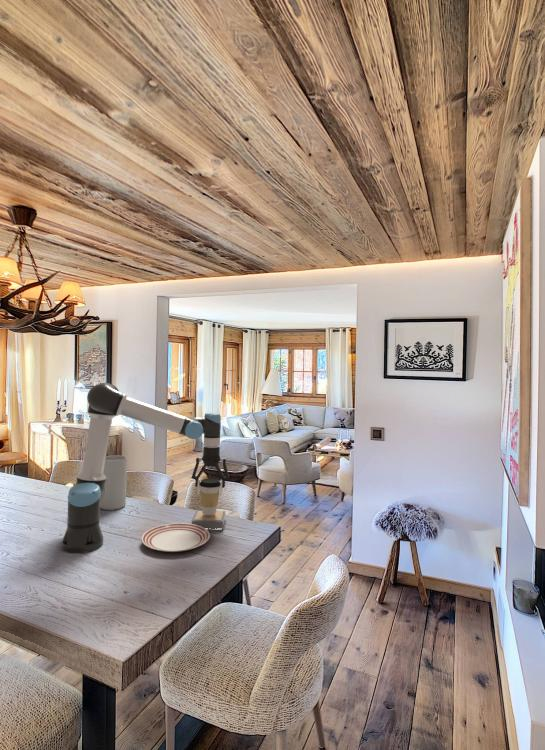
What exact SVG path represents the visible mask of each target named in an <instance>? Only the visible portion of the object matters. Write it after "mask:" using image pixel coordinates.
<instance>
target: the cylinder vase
mask: <svg viewBox="0 0 545 750" xmlns="http://www.w3.org/2000/svg"><path fill="white" fill-rule="evenodd" d="M127 468H128V457H127V456H125V455H106V459H105V465H104V471H103V474H104V475H105V476H106V482H105V494H104V497H103V499H102V501H101V504H100V510H105V511H115V509H116V510H120V509H122V507H123V508H124V507H125V506H126V502H127V501H126V497H127V476H128V475H127V473H128V472H127V471H128V470H127Z"/></svg>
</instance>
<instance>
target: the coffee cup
mask: <svg viewBox="0 0 545 750" xmlns="http://www.w3.org/2000/svg"><path fill="white" fill-rule="evenodd" d="M220 486H221V480H220V479H217V478H211V477H210V478H203V479H200V502H201V504H200V505H201V509H202V510H201V511H202V513H203V514H204V515H214V514H216V511H217V507H218V503H219V496H220Z"/></svg>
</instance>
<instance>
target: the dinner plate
mask: <svg viewBox="0 0 545 750" xmlns="http://www.w3.org/2000/svg"><path fill="white" fill-rule="evenodd" d="M210 538H211V533H210V532H209V530H206V529H205V528H203V527H201V526H199V525H195V524H192V523H185V522H175V523H165V524H162V525H158V526H155V527H152V528H150V529H149V530H146V531H145V532H144V533H143V534H142V535H141V542H142V544H143V545H144V546H145V547H148V548H149V549H152V550H156V551H159V552H166V553H167V552H169V553H177V552H185V551H189V550H192V549H196V548H199V547H200V546H203V545H204V544H206V543H207V542H208V541H209V539H210Z"/></svg>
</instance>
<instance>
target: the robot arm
mask: <svg viewBox="0 0 545 750" xmlns="http://www.w3.org/2000/svg"><path fill="white" fill-rule="evenodd" d="M86 396H87V397H86V399H87V403H88V406H87V407H88V408H87V414H88V415H89V417H90V419H89V426H88V430H87V431H88V432H87V438H86V443H85V450H84V455H83V461H82V468H81V472H80V473H78V474H77V477H76V482H75V484H74V485H73V486H71V487H70V489H69V490H68V495H67V521H66V522H67V523H66V524H67V525H66V529H65V532H64V535H63V538H62V540H61V550H62V551H63V552H65V553H68V554H82V553H87V552H88V553H89V552H92V551H94V550H97V549H99V548H100V547H102V546H103V544H104V535H103V531H102V529H101V526H100V512H101V508H100V504H101V501H102V499H103V497H104V494H105V482H106V476H105V475H104V474H103V471H104V465H105V459H106V456H107V452H108V447H109V441H110V440H109V439H110V433H111V427H112V420H113V418H115V417H118V416H123V417H126V418H130V419H132V420H134V421H135V420H136V421H139V422H142V423H145V424H148V425H151V426H154V427H157V428H160V429H163V430H167V431H169V432H172V433H176V434H178V435H181V436H185V437H187V438H188V439H190V440H198V439H199V438H201V437H202V436H203V448H202V449H203V450H202V451H203V452H202V453H203V454H202V457H200V456H197V457H196V459H195V460H196V461H195V465H194V468H193V472H192V474H191V479H192V480H195V481H194V483H195V485H194V486H195V487H196V490H197V491H196V493H197V494H196V495H197V496H198V495H201V492H200V491H201V486H200V483H201V479H200V477H201V476H202V474H203V472H204V471H205V469H206V468H209V467H212V468H213V467H214V468H215V469H216V471H217V473H218V475H219V477H220V483H221V486H220V488H219V496H223V489H224V488H225V487H226V481H228V480H230V474H229V470H228V468H227V467H228V466H227V463H226V462H227V458H226V457H220V454H221V453H220V452H221V451H220V449H221V447H220V446H221V427H222V426H221V425H222V422H221V417H222V416H221V414H220V413H218V412H206V413H205V414H204V416H202V417H194V416H193V417H192V416H184V415H180V414H177V413H174V412H172V411H168V410H165V409H163V408H160V407H157V406H154V405H151V404H149V403H146V402H142V401H139V400H136V399H134V398H131V397H128V396H127V394H126V393H123V392H121V391H119V388H117V386H115V384H113V383H109V382H99V384H95V385H94V386H92V387H91V388H90V389H89V391H88V393H87V395H86ZM202 461H203V465H202V467H201V468H200V470H199V469H198V468H199V466H200V463H201V462H202ZM220 462H221V463H222V467H223V470H224V473H223V471H222V469H221V467H220V465H219V463H220ZM198 470H199V472H198V473H197V471H198Z"/></svg>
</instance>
